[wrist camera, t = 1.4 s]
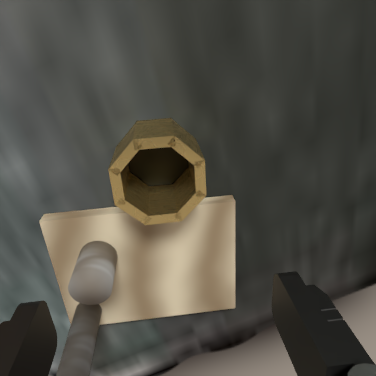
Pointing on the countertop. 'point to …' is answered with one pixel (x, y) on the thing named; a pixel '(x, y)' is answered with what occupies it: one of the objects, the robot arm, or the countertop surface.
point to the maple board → (138, 269)
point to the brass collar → (161, 194)
